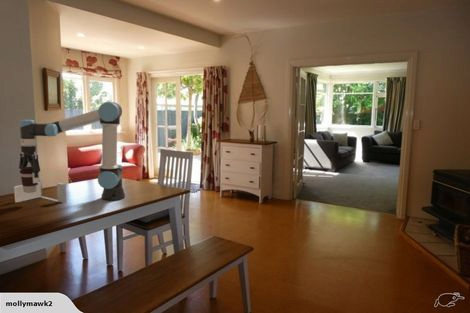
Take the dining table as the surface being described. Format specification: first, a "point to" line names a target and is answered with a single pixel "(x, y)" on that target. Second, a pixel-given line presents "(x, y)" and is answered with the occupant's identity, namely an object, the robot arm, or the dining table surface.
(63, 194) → the wall frame
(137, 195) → the dining table surface
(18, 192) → the door
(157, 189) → the dining table surface
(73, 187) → the dining table surface
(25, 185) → the coffee cup
